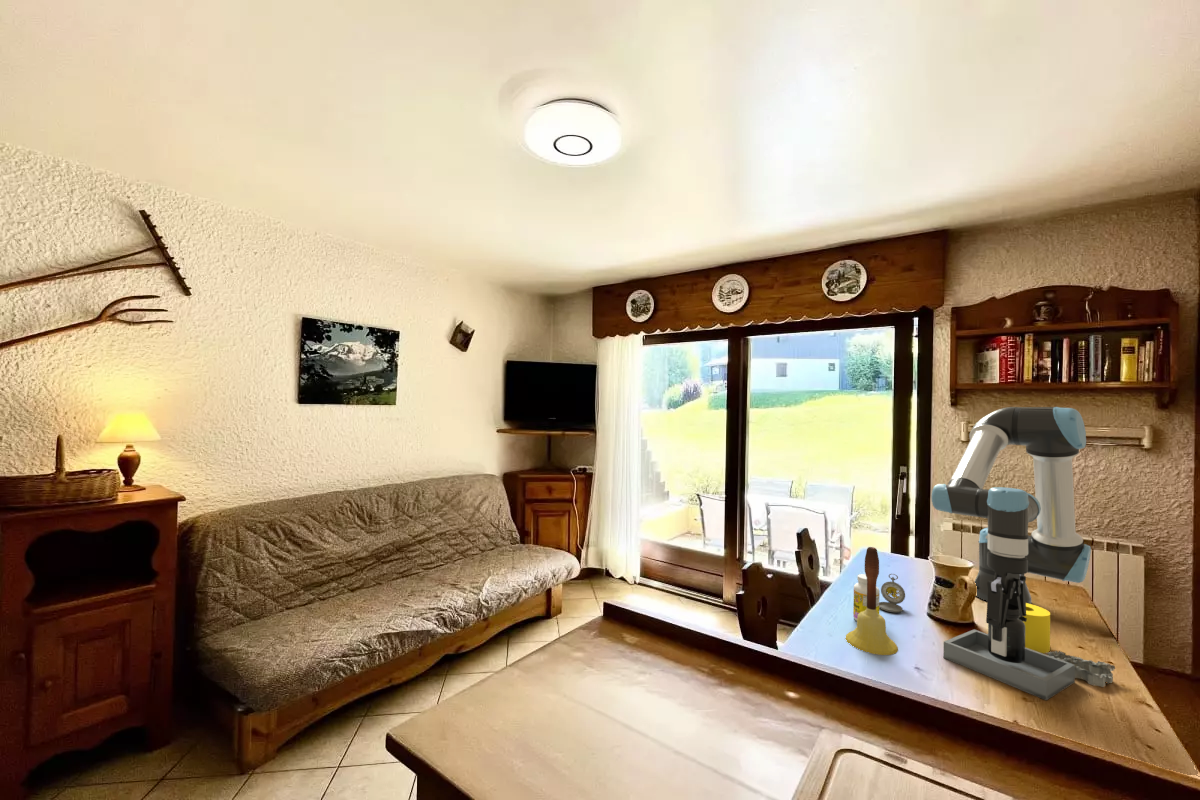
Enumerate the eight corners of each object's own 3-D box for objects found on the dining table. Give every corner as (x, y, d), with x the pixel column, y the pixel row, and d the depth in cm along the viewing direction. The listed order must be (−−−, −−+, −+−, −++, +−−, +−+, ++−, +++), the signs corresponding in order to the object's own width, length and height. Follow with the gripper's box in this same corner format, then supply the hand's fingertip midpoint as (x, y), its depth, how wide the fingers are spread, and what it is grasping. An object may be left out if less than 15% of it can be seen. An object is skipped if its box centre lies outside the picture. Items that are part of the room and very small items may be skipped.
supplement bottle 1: (851, 614, 148) (852, 571, 148) (876, 618, 145) (877, 574, 145) (855, 623, 141) (855, 578, 141) (881, 627, 139) (881, 582, 139)
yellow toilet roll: (1016, 633, 137) (1017, 599, 137) (1059, 650, 128) (1059, 613, 128) (991, 637, 134) (991, 602, 134) (1032, 655, 125) (1033, 618, 125)
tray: (973, 644, 130) (974, 629, 130) (1074, 682, 112) (1074, 664, 112) (943, 657, 123) (943, 641, 123) (1046, 700, 105) (1046, 681, 105)
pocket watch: (882, 612, 149) (882, 579, 150) (872, 602, 158) (872, 570, 158) (911, 615, 148) (912, 581, 148) (900, 604, 156) (900, 572, 156)
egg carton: (1118, 684, 112) (1118, 666, 112) (1098, 690, 110) (1098, 671, 110) (1061, 661, 123) (1062, 644, 123) (1042, 665, 120) (1042, 649, 120)
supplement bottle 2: (1002, 648, 122) (1002, 599, 122) (1032, 662, 115) (1033, 610, 115) (980, 650, 120) (981, 601, 120) (1010, 665, 113) (1010, 613, 114)
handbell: (842, 629, 137) (843, 539, 138) (892, 637, 133) (893, 544, 134) (848, 649, 126) (849, 551, 126) (903, 659, 122) (904, 557, 122)
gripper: (1007, 544, 126) (1006, 635, 126) (968, 554, 116) (967, 652, 116) (1045, 552, 119) (1044, 647, 119) (1006, 563, 110) (1005, 667, 109)
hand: (1006, 650), depth 118 cm, fingers closed on supplement bottle 2, 7 cm apart
